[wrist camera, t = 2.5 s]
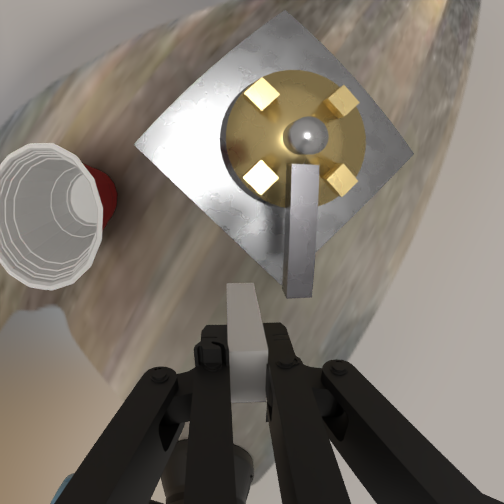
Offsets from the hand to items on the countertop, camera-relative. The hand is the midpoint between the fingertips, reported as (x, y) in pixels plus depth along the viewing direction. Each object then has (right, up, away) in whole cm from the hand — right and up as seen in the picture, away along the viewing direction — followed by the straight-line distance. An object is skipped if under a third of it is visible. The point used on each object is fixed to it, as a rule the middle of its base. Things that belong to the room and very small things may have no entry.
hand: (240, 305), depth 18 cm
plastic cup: (-15, +9, +12) cm, 21 cm away
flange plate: (+4, +14, +12) cm, 18 cm away
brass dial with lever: (+4, +9, +9) cm, 13 cm away
